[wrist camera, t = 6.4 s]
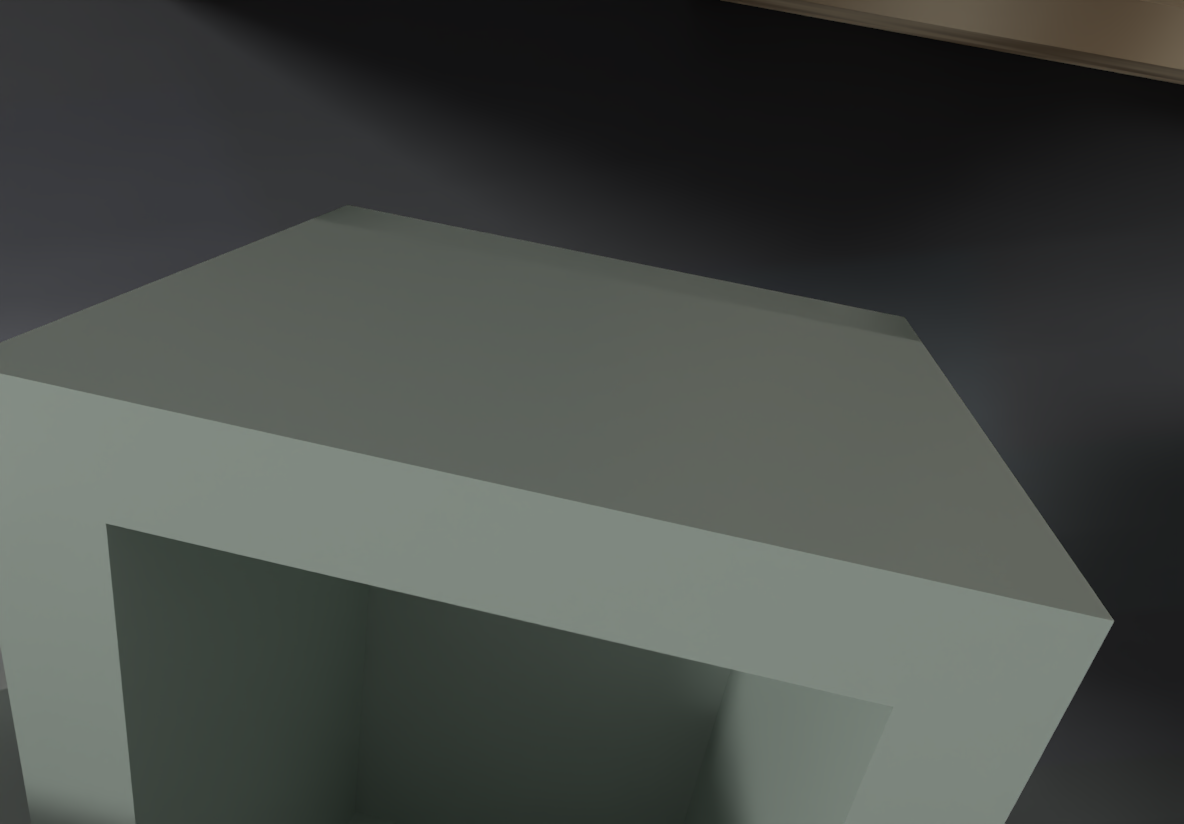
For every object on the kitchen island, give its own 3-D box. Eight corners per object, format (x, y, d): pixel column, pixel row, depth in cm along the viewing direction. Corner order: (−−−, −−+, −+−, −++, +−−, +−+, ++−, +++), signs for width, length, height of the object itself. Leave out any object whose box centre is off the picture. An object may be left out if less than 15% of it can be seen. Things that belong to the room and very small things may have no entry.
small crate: (904, 316, 8) (1111, 619, 4) (709, 888, 12) (700, 1381, 8) (348, 205, 9) (-51, 362, 4) (324, 791, 13) (98, 1207, 8)
